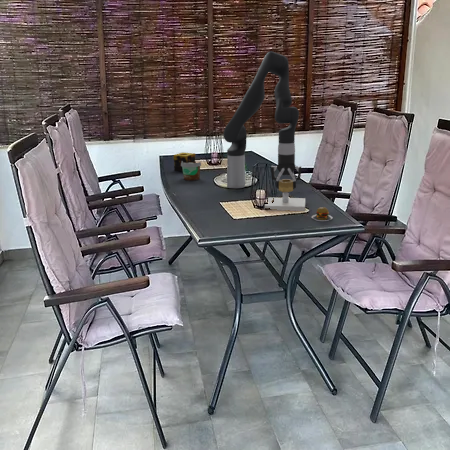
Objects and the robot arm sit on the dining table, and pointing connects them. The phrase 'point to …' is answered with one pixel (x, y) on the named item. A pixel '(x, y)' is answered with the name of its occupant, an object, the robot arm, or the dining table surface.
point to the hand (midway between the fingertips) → (286, 188)
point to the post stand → (286, 203)
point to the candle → (185, 158)
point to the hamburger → (322, 214)
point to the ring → (285, 185)
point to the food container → (191, 171)
